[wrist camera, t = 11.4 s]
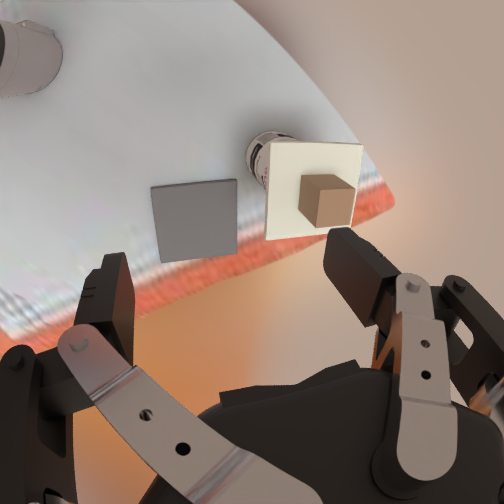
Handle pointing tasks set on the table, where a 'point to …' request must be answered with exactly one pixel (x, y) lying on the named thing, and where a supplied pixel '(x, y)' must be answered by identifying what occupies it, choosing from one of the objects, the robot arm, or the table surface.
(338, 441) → the robot arm
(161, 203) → the rubber mat
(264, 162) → the supplement can
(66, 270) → the table surface
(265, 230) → the board
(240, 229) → the table surface
